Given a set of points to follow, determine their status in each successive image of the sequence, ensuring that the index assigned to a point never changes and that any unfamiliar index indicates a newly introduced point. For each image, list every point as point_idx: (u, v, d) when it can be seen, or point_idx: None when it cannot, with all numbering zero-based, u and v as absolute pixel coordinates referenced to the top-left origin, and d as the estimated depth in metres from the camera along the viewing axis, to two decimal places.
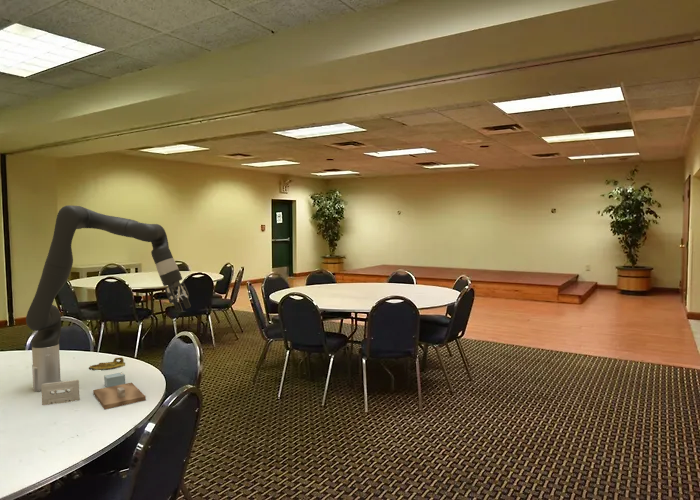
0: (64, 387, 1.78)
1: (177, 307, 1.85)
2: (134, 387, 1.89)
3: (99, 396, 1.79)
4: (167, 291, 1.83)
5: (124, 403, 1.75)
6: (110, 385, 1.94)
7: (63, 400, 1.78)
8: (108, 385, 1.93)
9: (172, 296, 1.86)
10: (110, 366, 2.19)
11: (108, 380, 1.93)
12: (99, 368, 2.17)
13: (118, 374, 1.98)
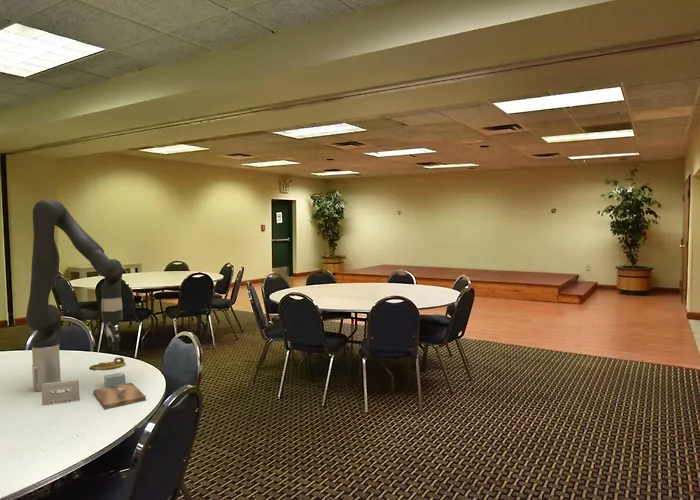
0: (64, 387, 1.78)
1: (116, 346, 1.92)
2: (134, 387, 1.89)
3: (99, 396, 1.79)
4: (115, 329, 1.90)
5: (124, 403, 1.75)
6: (110, 385, 1.94)
7: (63, 400, 1.78)
8: (108, 385, 1.93)
9: (113, 334, 1.92)
10: (110, 366, 2.19)
11: (108, 380, 1.93)
12: (99, 368, 2.17)
13: (118, 374, 1.98)
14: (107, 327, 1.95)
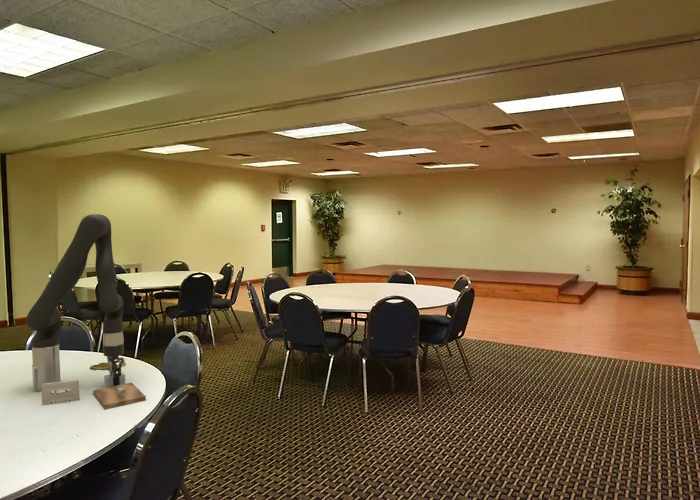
0: (64, 387, 1.78)
1: (117, 381, 1.94)
2: (134, 387, 1.89)
3: (99, 396, 1.79)
4: (116, 366, 1.91)
5: (124, 403, 1.75)
6: (110, 385, 1.94)
7: (63, 400, 1.78)
8: (108, 385, 1.93)
9: (114, 369, 1.94)
10: None
11: (108, 380, 1.93)
12: (100, 368, 2.17)
13: None
14: (108, 361, 1.96)
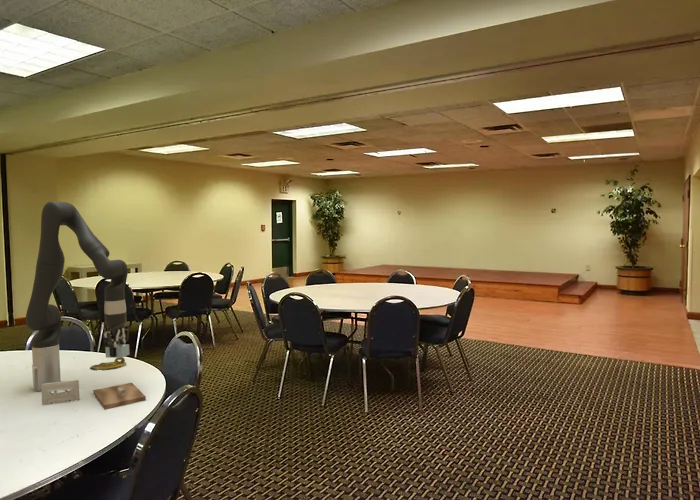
0: (64, 387, 1.78)
1: (111, 352, 1.84)
2: (134, 387, 1.89)
3: (99, 396, 1.79)
4: (104, 336, 1.80)
5: (124, 403, 1.75)
6: (108, 355, 1.85)
7: (63, 400, 1.78)
8: (106, 354, 1.85)
9: None
10: (111, 366, 2.19)
11: (106, 350, 1.85)
12: (100, 368, 2.17)
13: (121, 345, 1.87)
14: None
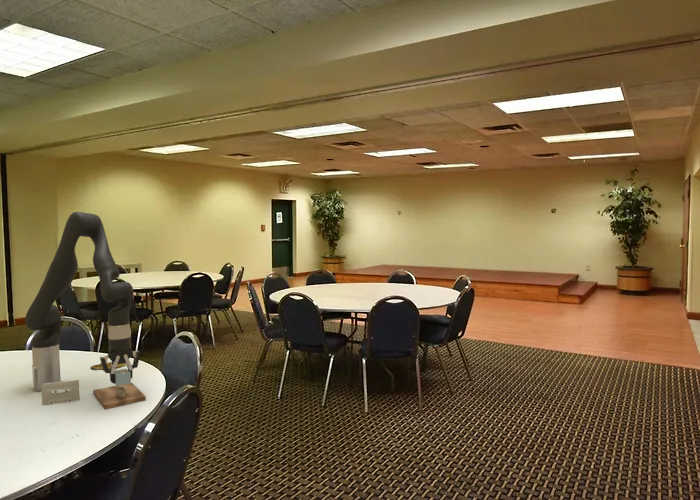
0: (64, 387, 1.78)
1: (110, 378, 1.77)
2: (134, 387, 1.89)
3: (99, 396, 1.79)
4: None
5: (124, 403, 1.75)
6: None
7: (63, 400, 1.78)
8: None
9: (111, 364, 1.78)
10: None
11: None
12: (100, 368, 2.17)
13: None
14: None
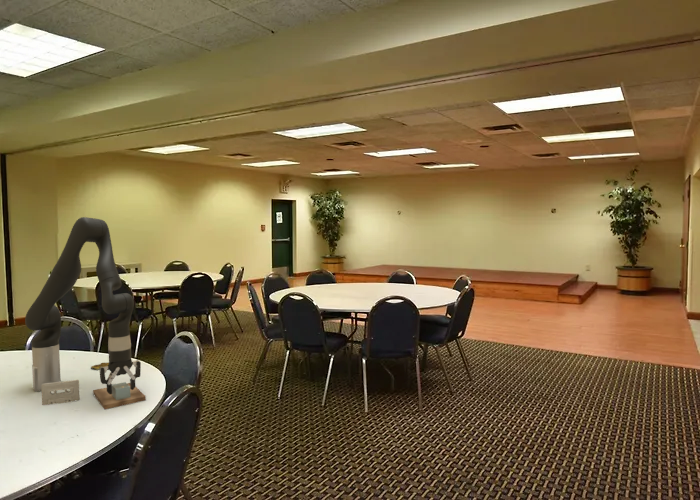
0: (64, 387, 1.78)
1: (107, 389, 1.77)
2: None
3: (99, 396, 1.79)
4: None
5: (124, 403, 1.75)
6: (112, 393, 1.80)
7: (63, 400, 1.78)
8: (112, 392, 1.80)
9: (109, 375, 1.78)
10: None
11: (112, 387, 1.80)
12: None
13: (122, 386, 1.78)
14: None
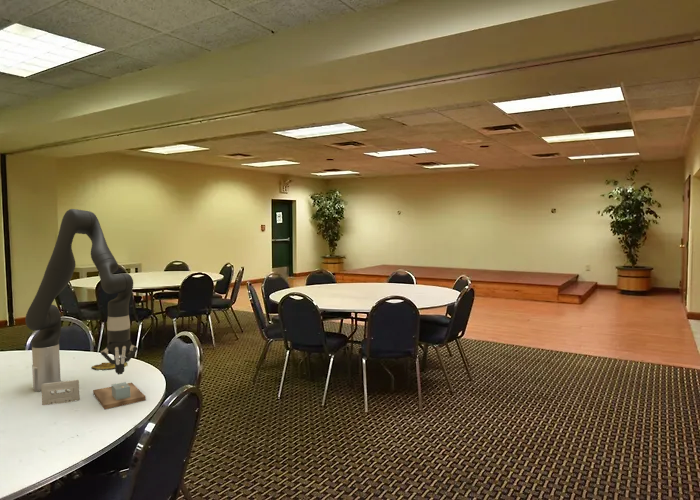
0: (64, 387, 1.78)
1: (115, 369, 1.78)
2: (134, 387, 1.89)
3: (99, 396, 1.79)
4: None
5: (124, 403, 1.75)
6: (112, 393, 1.80)
7: (63, 400, 1.78)
8: (112, 392, 1.80)
9: (114, 356, 1.78)
10: (112, 366, 2.19)
11: (112, 387, 1.80)
12: (101, 368, 2.17)
13: (122, 386, 1.78)
14: None
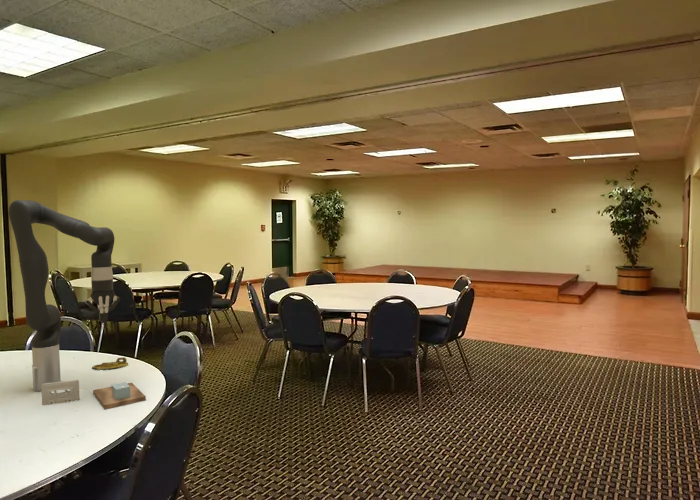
0: (64, 387, 1.78)
1: (99, 317, 1.89)
2: (134, 387, 1.89)
3: (99, 396, 1.79)
4: None
5: (124, 403, 1.75)
6: (112, 393, 1.80)
7: (63, 400, 1.78)
8: (112, 392, 1.80)
9: (98, 305, 1.89)
10: (113, 366, 2.19)
11: (112, 387, 1.80)
12: (102, 368, 2.17)
13: (122, 386, 1.78)
14: None
